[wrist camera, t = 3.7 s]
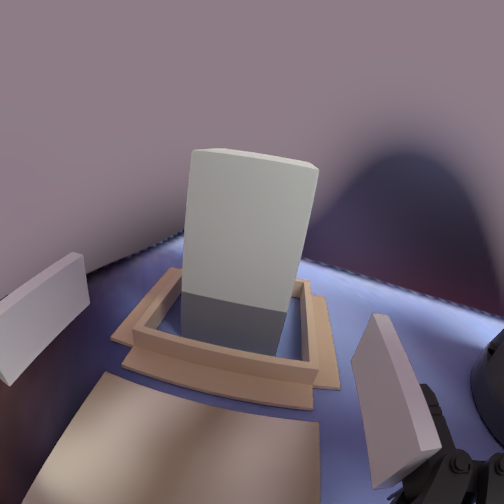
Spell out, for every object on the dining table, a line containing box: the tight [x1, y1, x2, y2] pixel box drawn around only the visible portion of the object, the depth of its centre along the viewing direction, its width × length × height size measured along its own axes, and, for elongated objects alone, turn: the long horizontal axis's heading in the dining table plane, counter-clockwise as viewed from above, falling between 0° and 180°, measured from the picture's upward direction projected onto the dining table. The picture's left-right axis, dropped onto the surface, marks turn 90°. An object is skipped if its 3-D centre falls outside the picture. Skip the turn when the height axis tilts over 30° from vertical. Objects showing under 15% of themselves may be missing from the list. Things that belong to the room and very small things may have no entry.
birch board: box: [21, 371, 320, 504], centre depth 8 cm, size 12×11×2 cm
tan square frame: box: [110, 267, 341, 411], centre depth 22 cm, size 16×16×2 cm
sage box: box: [181, 148, 319, 357], centre depth 20 cm, size 7×7×13 cm
